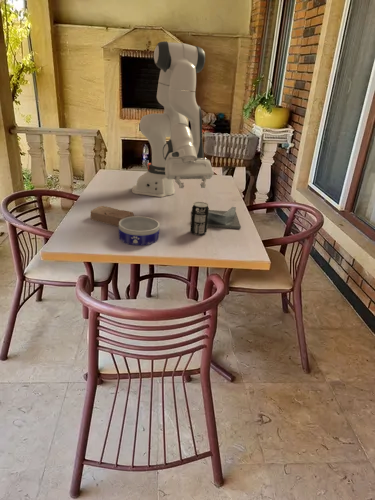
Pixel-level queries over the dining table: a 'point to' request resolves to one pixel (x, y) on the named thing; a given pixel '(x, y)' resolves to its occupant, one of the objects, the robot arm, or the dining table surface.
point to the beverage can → (199, 218)
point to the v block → (223, 219)
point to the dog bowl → (139, 230)
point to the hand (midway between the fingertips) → (192, 187)
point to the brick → (109, 215)
